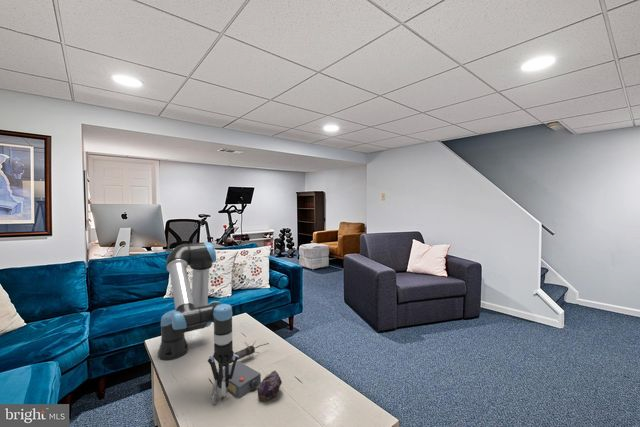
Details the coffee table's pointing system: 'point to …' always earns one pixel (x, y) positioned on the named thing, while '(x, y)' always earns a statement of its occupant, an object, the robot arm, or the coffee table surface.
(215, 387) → the side door
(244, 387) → the camera body
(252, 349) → the bomb
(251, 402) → the coffee table surface
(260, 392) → the rock
